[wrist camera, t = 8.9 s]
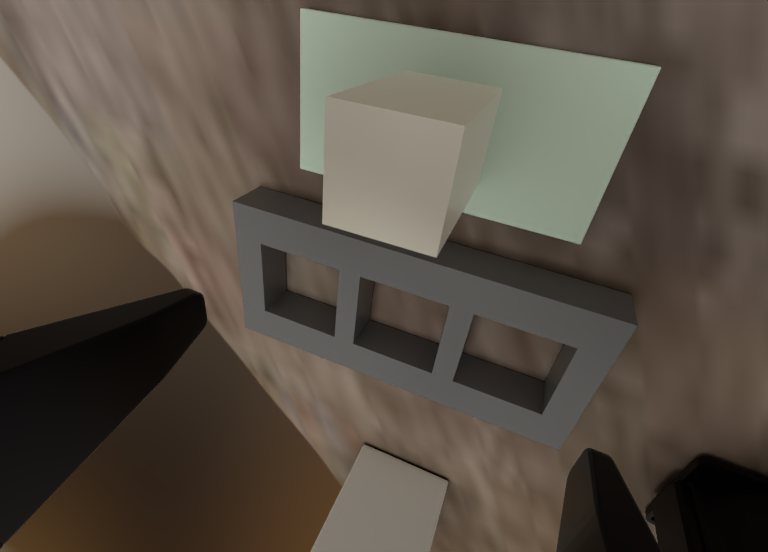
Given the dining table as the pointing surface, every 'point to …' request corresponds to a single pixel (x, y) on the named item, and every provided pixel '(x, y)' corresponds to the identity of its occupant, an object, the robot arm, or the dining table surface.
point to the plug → (405, 157)
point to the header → (466, 298)
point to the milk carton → (383, 507)
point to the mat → (514, 115)
